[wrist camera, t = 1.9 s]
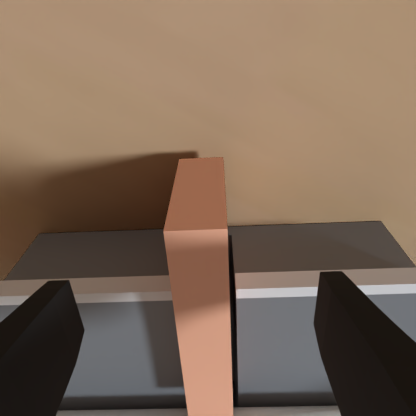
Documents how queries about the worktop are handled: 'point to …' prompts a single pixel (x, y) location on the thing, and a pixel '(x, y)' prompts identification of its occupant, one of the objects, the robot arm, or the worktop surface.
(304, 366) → the dispenser
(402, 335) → the robot arm
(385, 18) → the worktop surface
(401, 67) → the worktop surface
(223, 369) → the salmon pink slab
